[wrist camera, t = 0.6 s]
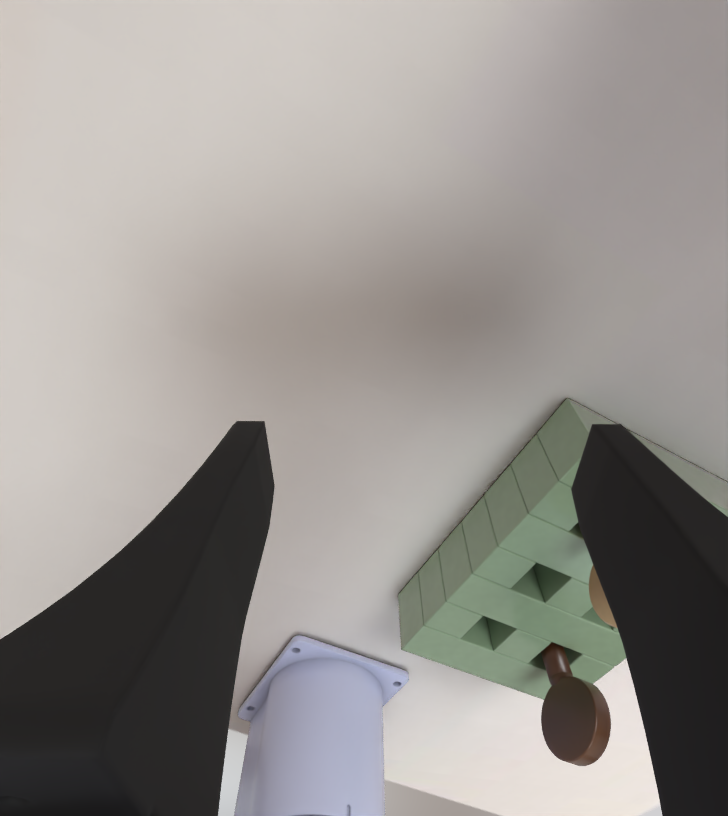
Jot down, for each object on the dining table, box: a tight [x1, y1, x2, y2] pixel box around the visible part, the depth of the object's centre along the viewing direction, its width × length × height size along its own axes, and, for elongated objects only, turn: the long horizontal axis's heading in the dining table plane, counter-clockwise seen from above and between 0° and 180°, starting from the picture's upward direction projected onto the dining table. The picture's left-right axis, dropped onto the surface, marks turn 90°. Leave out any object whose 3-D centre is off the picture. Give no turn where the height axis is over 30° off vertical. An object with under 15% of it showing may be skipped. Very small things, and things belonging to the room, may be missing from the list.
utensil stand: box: [398, 398, 728, 700], centre depth 28 cm, size 15×11×4 cm
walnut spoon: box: [541, 642, 611, 766], centre depth 28 cm, size 1×4×8 cm, turn 151°
